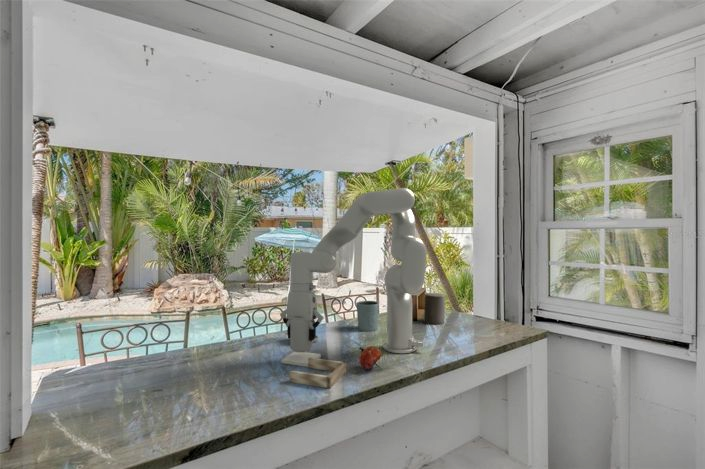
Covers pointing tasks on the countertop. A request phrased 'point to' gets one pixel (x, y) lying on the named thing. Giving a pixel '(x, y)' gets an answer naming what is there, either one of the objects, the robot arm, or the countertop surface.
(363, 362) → the red tomato
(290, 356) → the tile
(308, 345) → the can
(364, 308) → the teal cup
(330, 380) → the open wooden frame
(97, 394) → the countertop surface
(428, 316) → the pillar candle
